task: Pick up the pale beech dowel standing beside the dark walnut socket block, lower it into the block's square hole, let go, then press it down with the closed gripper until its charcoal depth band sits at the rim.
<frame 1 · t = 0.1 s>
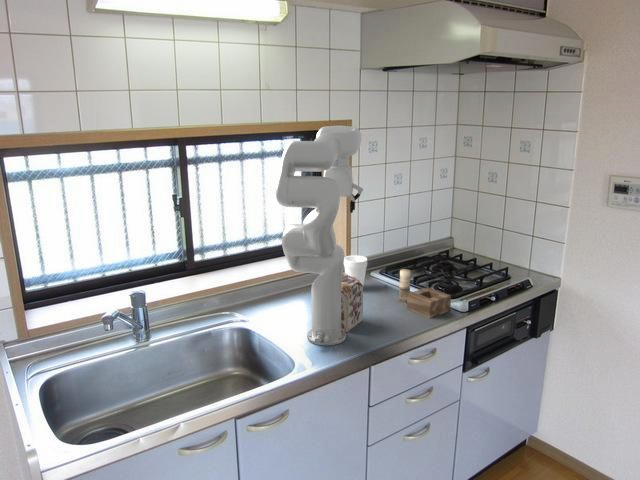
hand: (338, 211, 182), 37 cm above the counter, tool pointing down, fingers open, 9 cm apart
beech dowel: (404, 300, 199), on the counter
socket block: (428, 309, 190), on the counter
foam cup: (355, 289, 212), on the counter
decorative jar: (340, 323, 179), on the counter
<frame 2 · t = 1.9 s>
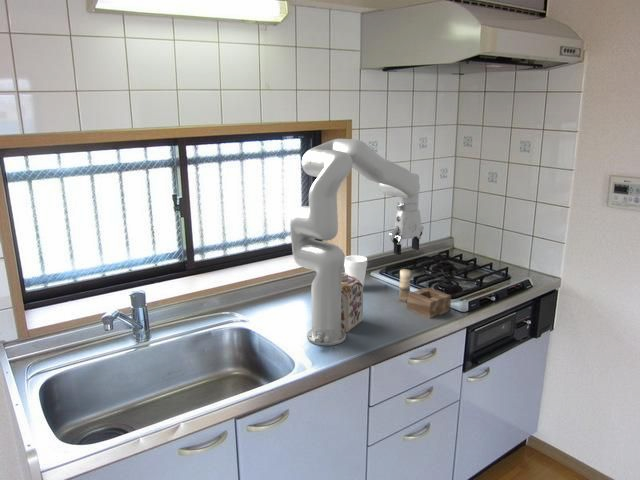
hand: (406, 251, 195), 19 cm above the counter, tool pointing down, fingers open, 9 cm apart
nothing on the counter moved.
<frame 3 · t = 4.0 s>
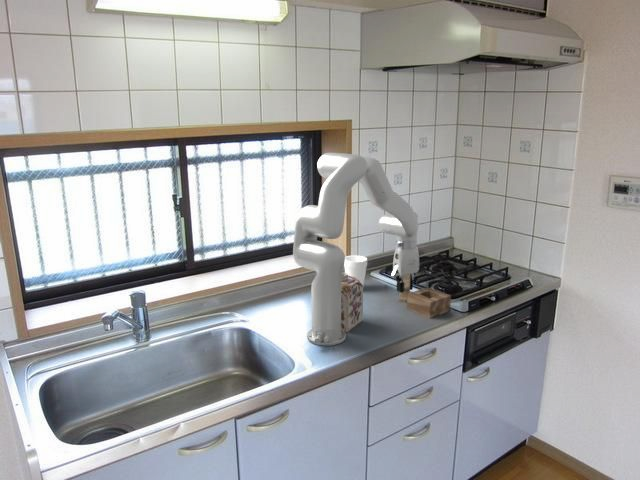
hand: (404, 289, 198), 4 cm above the counter, tool pointing down, fingers closed on beech dowel, 4 cm apart
beech dowel: (404, 300, 199), on the counter, touching gripper
everything else where it was.
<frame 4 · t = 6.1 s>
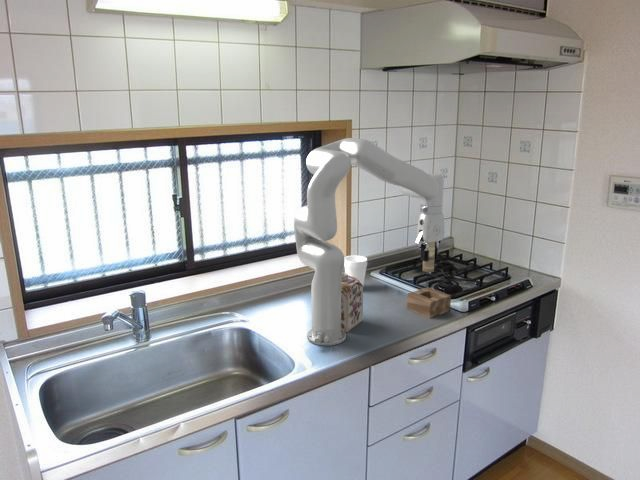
hand: (428, 258, 186), 19 cm above the counter, tool pointing down, fingers closed on beech dowel, 4 cm apart
beech dowel: (428, 270, 187), point 15 cm above the counter, touching gripper
everything else where it was.
when the fingers open (7 cm above the counter, at t = 8.3 s): beech dowel drops 2 cm, resting on socket block.
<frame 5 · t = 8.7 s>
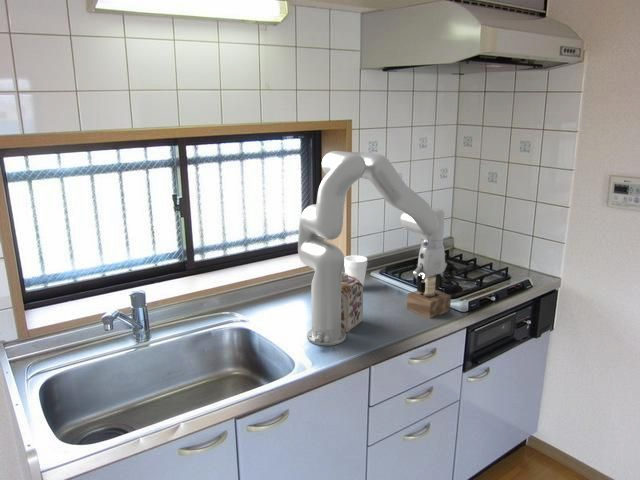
hand: (429, 289, 188), 8 cm above the counter, tool pointing down, fingers open, 8 cm apart
beech dowel: (428, 307, 190), point 1 cm above the counter, touching socket block
everything else where it was.
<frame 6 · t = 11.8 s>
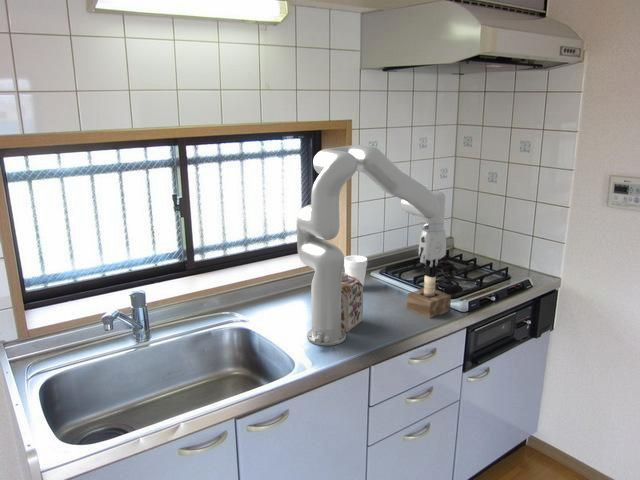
hand: (430, 276, 187), 13 cm above the counter, tool pointing down, fingers closed
beech dowel: (428, 307, 190), point 1 cm above the counter, touching gripper, socket block
everything else where it was.
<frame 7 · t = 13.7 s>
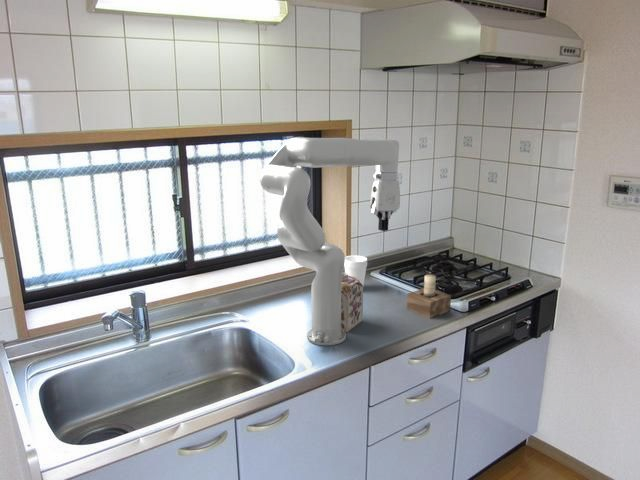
hand: (383, 230, 179), 31 cm above the counter, tool pointing down, fingers closed
beech dowel: (428, 307, 190), point 1 cm above the counter, touching socket block
everything else where it was.
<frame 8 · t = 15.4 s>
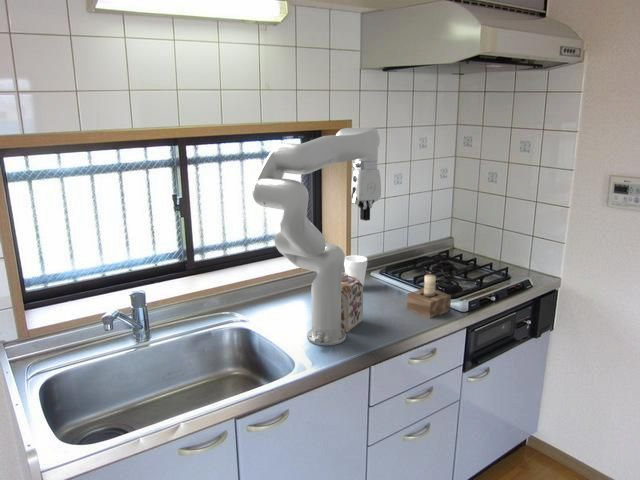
hand: (365, 219, 177), 35 cm above the counter, tool pointing down, fingers closed
nothing on the counter moved.
at the end: beech dowel 0.0 cm off-centre on the socket block, point 1.0 cm above the socket block's base; beech dowel tilted 0°; the gripper is holding nothing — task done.
